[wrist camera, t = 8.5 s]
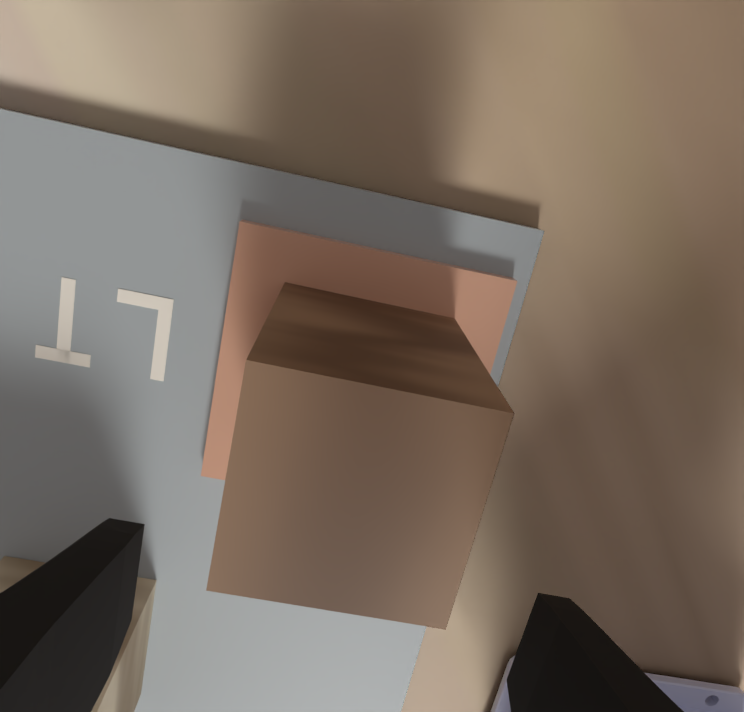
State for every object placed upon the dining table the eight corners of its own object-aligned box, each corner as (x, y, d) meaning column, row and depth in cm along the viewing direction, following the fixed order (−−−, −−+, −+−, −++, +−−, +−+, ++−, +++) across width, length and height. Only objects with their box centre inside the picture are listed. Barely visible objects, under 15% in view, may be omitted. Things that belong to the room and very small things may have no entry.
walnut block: (454, 318, 18) (514, 413, 12) (413, 468, 20) (445, 629, 13) (285, 282, 18) (246, 359, 11) (256, 439, 19) (206, 590, 13)
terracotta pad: (513, 277, 18) (517, 281, 18) (445, 510, 21) (447, 519, 20) (242, 219, 18) (239, 221, 17) (204, 468, 20) (200, 476, 20)
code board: (538, 228, 19) (544, 230, 18) (377, 772, 25) (378, 787, 25) (-58, 94, 17) (-73, 92, 16) (-65, 713, 24) (-76, 728, 23)
